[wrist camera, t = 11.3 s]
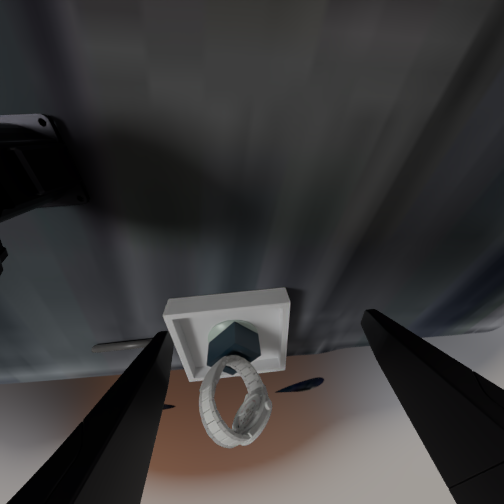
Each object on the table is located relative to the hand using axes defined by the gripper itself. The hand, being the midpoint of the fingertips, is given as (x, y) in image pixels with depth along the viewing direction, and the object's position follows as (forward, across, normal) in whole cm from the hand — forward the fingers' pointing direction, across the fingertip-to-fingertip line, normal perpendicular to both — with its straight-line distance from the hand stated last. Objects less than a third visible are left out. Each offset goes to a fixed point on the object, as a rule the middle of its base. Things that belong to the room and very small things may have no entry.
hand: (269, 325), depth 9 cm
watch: (+12, +3, +17) cm, 21 cm away
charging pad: (+13, +9, +17) cm, 23 cm away
